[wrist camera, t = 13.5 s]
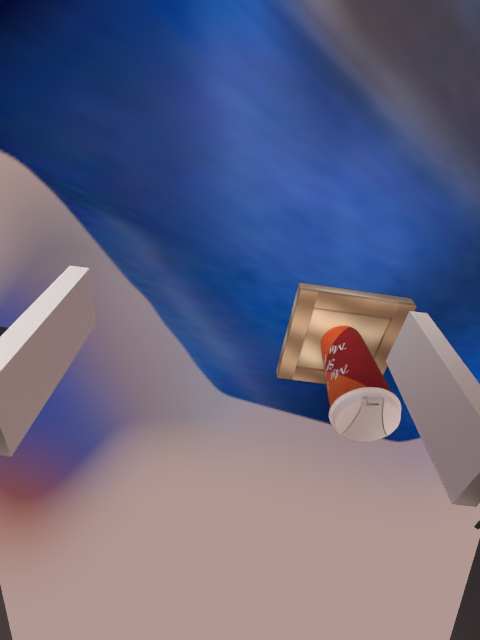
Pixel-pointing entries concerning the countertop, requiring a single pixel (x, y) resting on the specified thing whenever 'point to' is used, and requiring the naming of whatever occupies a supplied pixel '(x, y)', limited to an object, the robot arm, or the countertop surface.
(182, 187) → the countertop surface
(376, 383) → the coffee cup
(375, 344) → the square tray
